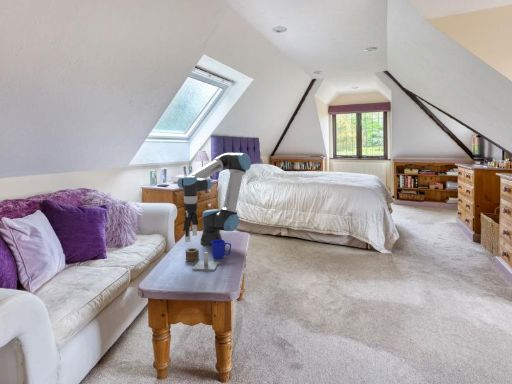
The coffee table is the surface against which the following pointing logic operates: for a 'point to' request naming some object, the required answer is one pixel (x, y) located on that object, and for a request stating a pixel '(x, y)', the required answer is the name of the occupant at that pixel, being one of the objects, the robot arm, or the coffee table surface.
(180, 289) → the coffee table surface
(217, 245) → the mug
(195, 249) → the ring
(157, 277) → the coffee table surface
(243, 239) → the coffee table surface
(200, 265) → the square plate with peg
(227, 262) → the coffee table surface
